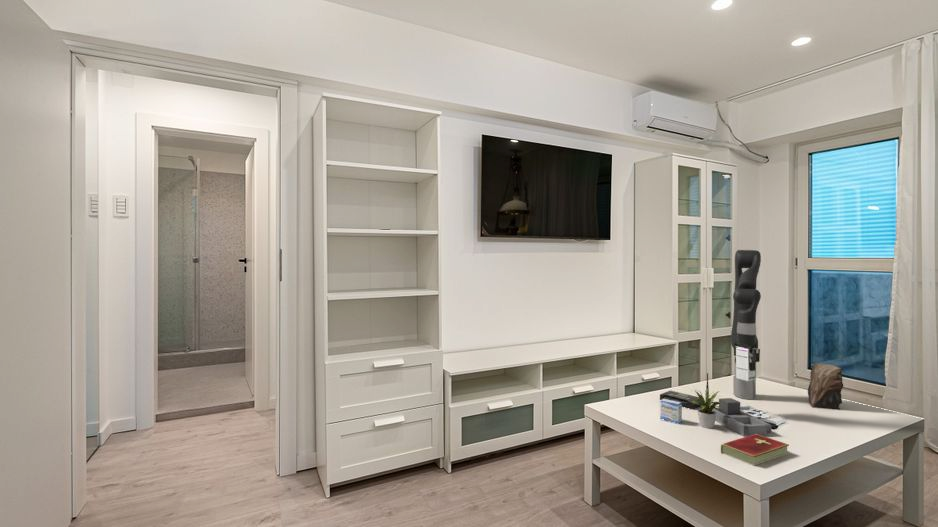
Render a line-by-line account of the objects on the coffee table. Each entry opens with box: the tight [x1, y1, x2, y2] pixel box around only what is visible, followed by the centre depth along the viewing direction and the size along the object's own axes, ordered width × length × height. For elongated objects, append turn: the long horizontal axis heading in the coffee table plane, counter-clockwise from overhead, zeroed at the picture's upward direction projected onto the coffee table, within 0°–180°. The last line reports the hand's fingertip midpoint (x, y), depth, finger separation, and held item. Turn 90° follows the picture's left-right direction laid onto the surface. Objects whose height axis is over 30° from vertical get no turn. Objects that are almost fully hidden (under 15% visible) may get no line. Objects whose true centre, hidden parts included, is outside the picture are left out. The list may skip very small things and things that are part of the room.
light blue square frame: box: [740, 405, 763, 412], centre depth 204 cm, size 12×12×1 cm
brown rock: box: [807, 361, 844, 410], centre depth 214 cm, size 13×13×20 cm
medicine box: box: [659, 399, 683, 424], centre depth 196 cm, size 8×4×9 cm, turn 47°
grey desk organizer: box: [713, 397, 772, 437], centre depth 192 cm, size 27×12×9 cm, turn 6°
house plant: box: [692, 388, 722, 429], centre depth 189 cm, size 14×14×16 cm
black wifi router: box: [659, 372, 710, 410], centre depth 218 cm, size 20×14×17 cm
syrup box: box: [735, 347, 757, 381], centre depth 204 cm, size 6×6×14 cm
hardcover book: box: [720, 434, 790, 467], centre depth 162 cm, size 12×21×4 cm, turn 117°
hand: (746, 368), depth 204 cm, fingers closed on syrup box, 7 cm apart
